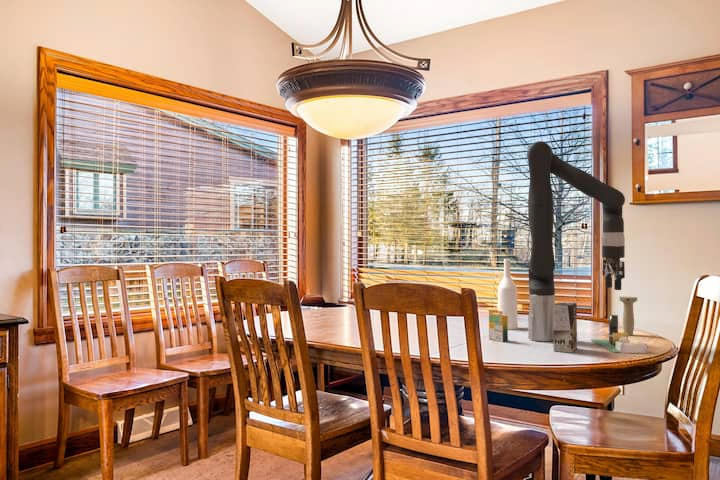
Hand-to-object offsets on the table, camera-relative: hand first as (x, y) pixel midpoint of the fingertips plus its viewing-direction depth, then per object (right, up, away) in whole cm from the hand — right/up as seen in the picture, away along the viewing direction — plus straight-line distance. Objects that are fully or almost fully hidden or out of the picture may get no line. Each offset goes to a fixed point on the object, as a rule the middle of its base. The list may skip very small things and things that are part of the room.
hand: (613, 288), depth 199 cm
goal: (-1, -20, -15) cm, 25 cm away
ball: (-1, -18, -9) cm, 20 cm away
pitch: (-1, -20, -7) cm, 21 cm away
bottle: (-29, -20, +35) cm, 50 cm away
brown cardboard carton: (0, -20, -4) cm, 20 cm away
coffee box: (-22, -20, -11) cm, 32 cm away
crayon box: (-40, -21, +7) cm, 46 cm away
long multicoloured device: (0, -19, -3) cm, 19 cm away
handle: (+13, -20, +15) cm, 28 cm away
